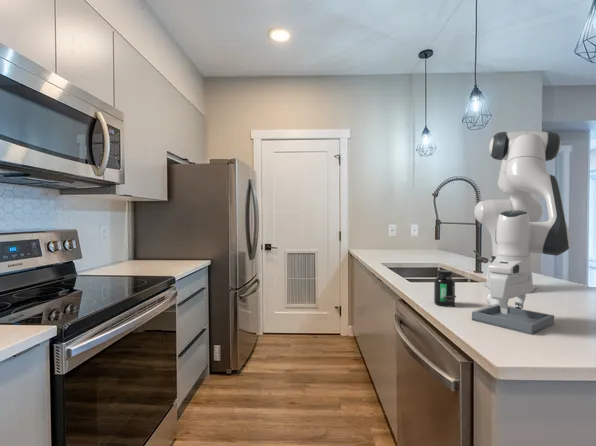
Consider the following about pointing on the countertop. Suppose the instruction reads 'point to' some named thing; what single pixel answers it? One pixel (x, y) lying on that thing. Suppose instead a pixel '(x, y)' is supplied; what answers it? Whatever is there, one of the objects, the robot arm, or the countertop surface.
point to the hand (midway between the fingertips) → (512, 310)
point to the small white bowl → (492, 301)
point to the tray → (514, 319)
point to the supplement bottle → (443, 288)
